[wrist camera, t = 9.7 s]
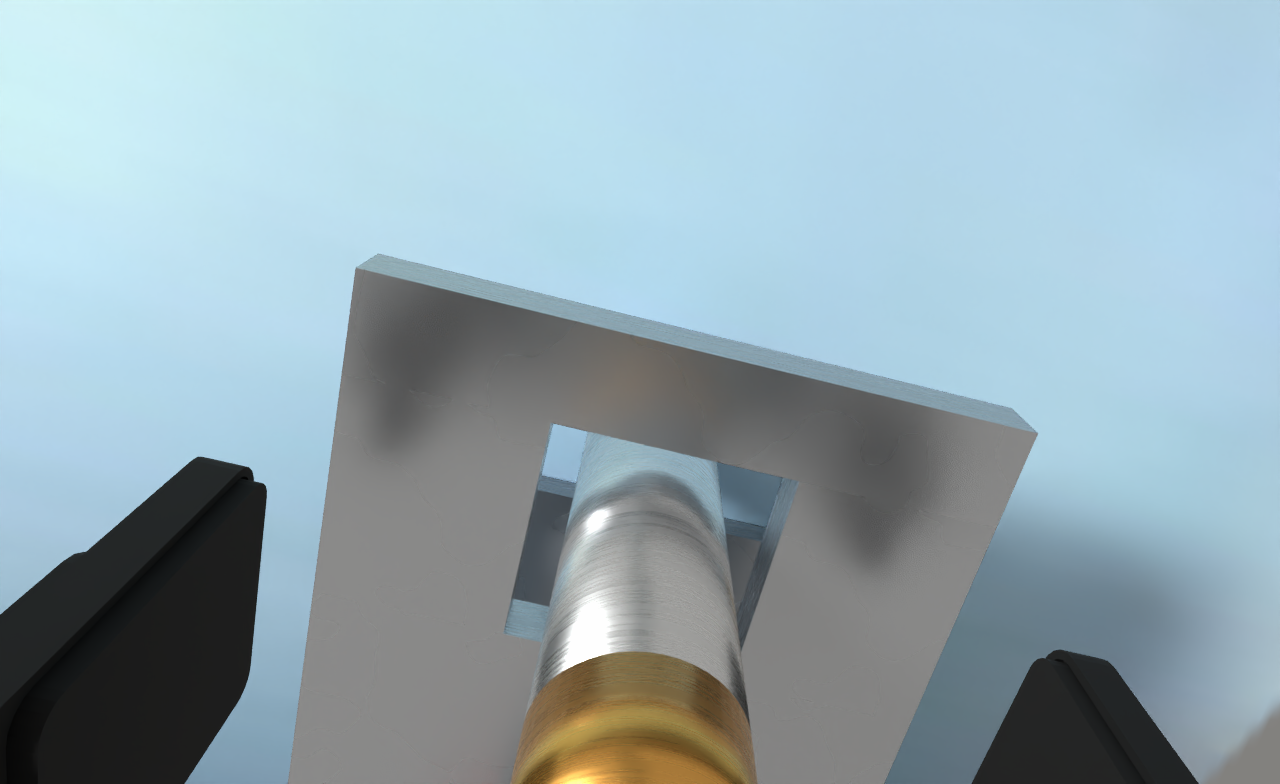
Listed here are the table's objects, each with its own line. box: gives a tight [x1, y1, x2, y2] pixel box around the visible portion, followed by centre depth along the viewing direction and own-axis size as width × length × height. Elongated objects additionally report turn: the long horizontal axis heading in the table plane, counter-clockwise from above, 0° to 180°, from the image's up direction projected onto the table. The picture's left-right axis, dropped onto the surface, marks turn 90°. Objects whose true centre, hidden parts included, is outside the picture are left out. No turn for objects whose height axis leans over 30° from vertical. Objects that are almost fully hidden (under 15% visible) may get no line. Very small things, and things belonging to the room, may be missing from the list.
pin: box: [510, 432, 758, 784], centre depth 14 cm, size 3×3×14 cm
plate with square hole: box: [288, 254, 1038, 784], centre depth 18 cm, size 20×10×11 cm, turn 166°
